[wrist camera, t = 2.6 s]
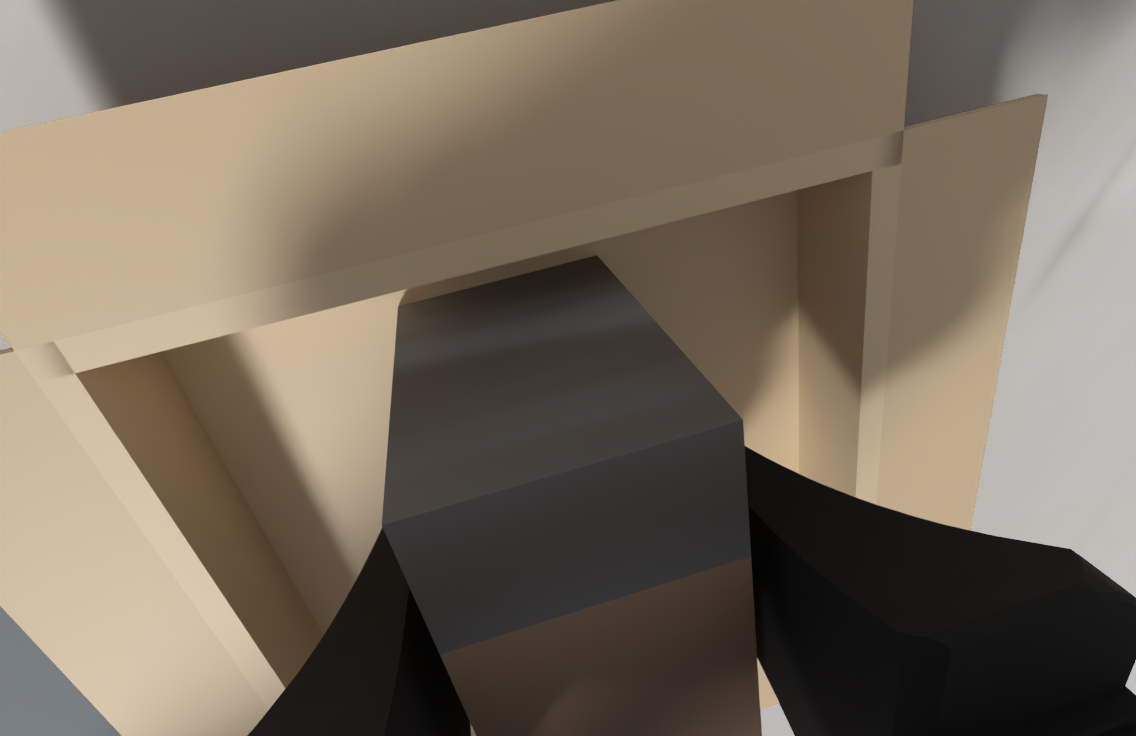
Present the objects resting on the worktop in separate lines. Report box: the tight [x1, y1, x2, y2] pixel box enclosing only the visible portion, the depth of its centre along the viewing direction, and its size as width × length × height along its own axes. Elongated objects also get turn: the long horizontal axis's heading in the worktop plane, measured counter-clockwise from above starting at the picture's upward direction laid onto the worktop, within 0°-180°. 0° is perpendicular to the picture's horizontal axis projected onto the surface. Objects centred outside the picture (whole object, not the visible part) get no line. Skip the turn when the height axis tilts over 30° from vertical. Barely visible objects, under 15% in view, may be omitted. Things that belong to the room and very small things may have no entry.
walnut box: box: [382, 255, 762, 736], centre depth 11 cm, size 8×4×6 cm, turn 11°
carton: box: [0, 0, 1048, 736], centre depth 13 cm, size 16×18×2 cm
